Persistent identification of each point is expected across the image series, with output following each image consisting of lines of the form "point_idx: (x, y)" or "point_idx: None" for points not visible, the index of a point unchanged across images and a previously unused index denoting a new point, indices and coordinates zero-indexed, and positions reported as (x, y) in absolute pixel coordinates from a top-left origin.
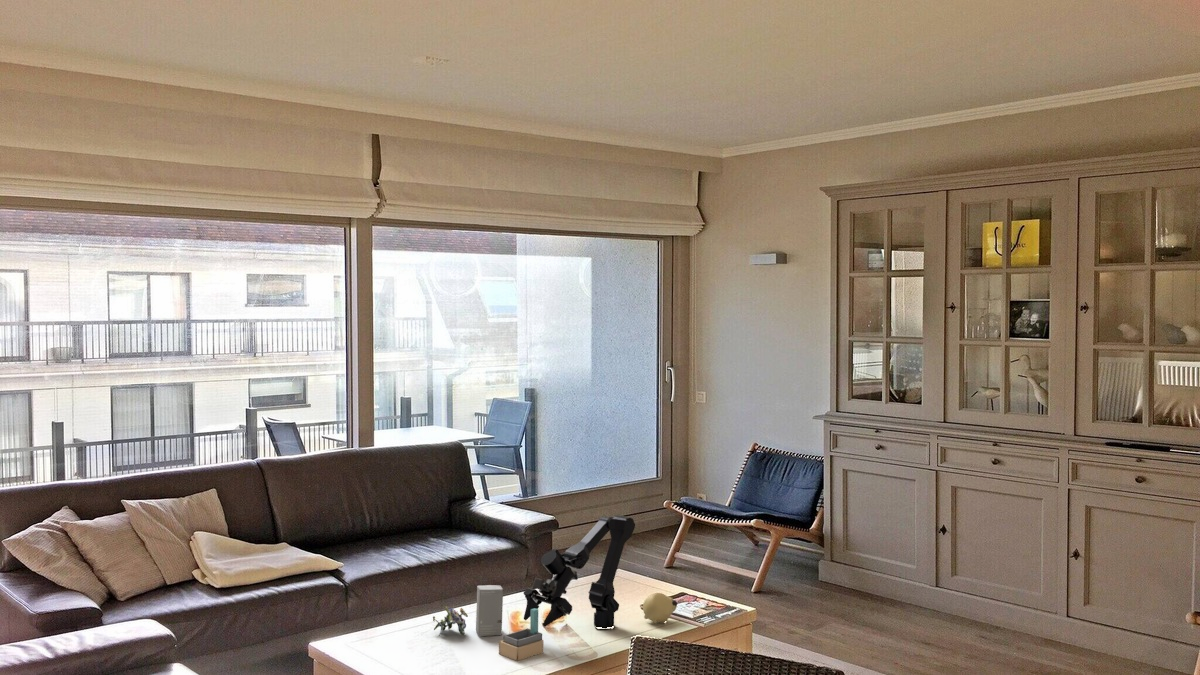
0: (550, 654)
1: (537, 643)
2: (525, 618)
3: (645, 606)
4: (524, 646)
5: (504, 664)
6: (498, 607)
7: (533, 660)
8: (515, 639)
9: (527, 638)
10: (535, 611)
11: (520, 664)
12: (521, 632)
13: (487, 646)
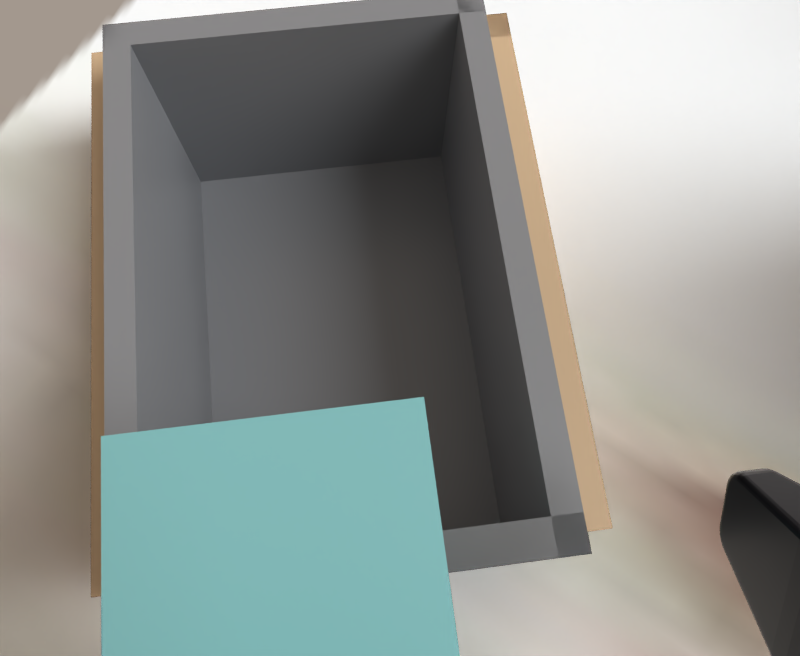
0: (38, 632)
1: (100, 448)
2: (742, 520)
3: None
4: (95, 177)
5: (166, 5)
6: None
7: (32, 308)
8: (187, 30)
9: (109, 225)
10: (124, 537)
11: (43, 125)
12: (516, 365)
13: (784, 146)
